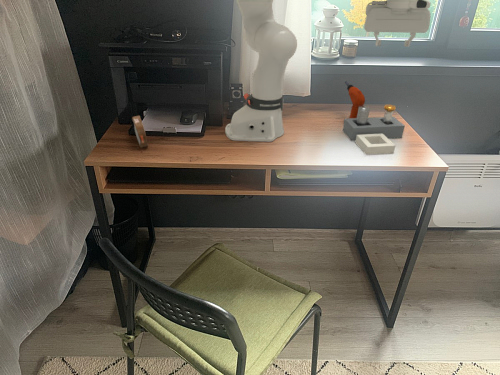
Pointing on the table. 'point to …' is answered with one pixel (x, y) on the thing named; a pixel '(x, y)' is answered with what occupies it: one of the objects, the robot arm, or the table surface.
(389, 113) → the gold topped white cylinder
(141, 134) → the tin
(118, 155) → the table surface
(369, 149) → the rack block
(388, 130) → the socket block
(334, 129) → the table surface
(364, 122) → the grey metal peg
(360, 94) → the toy drill
